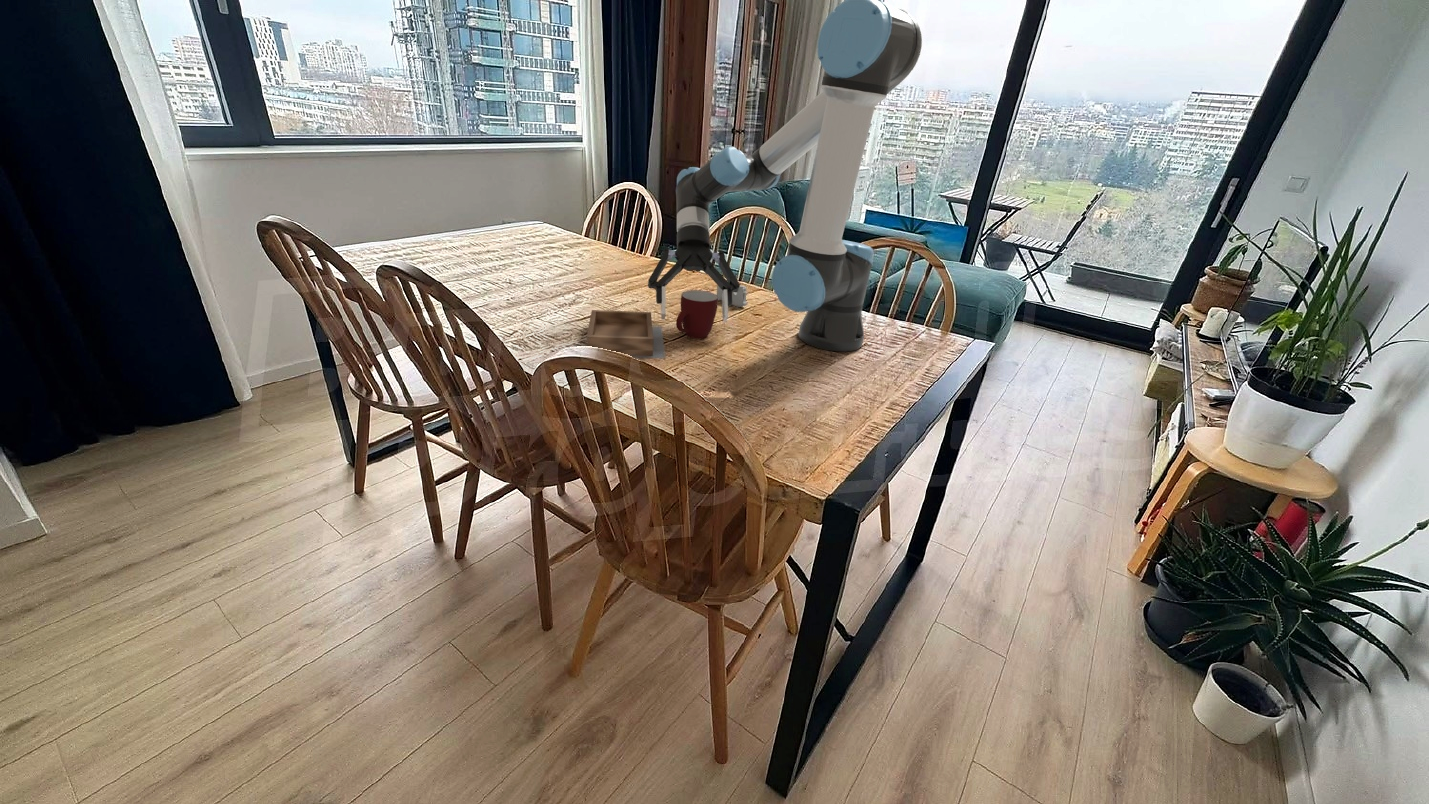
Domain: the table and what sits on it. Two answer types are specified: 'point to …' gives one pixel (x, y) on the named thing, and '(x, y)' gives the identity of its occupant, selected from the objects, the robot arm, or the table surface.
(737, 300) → the notched grey bracket
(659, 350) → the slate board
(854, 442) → the table surface
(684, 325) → the mug
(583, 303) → the table surface
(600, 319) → the wooden tray
